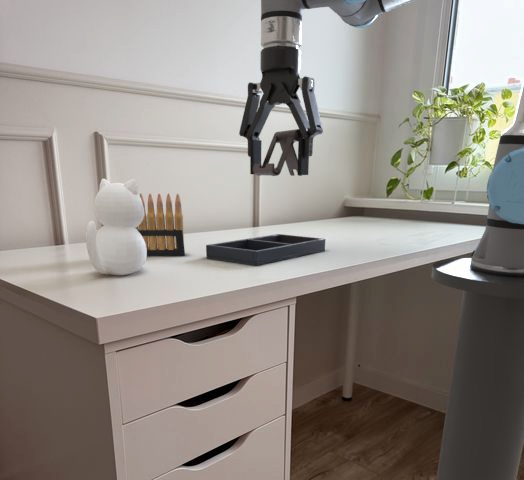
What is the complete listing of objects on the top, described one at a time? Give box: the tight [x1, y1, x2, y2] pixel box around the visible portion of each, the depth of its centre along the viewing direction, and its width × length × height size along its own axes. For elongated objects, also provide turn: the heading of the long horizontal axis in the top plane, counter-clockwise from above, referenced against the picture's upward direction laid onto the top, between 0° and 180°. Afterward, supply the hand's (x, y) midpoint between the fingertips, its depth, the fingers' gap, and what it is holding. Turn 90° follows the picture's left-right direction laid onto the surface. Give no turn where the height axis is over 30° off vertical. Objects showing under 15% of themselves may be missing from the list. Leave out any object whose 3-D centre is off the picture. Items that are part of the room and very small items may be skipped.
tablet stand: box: [253, 128, 303, 177], centre depth 101 cm, size 9×8×8 cm
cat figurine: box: [85, 178, 148, 276], centre depth 84 cm, size 9×12×15 cm
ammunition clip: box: [135, 193, 186, 257], centre depth 102 cm, size 11×2×12 cm, turn 98°
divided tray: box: [205, 233, 326, 267], centre depth 107 cm, size 13×24×3 cm, turn 143°
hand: (278, 174), depth 103 cm, fingers closed on tablet stand, 11 cm apart
